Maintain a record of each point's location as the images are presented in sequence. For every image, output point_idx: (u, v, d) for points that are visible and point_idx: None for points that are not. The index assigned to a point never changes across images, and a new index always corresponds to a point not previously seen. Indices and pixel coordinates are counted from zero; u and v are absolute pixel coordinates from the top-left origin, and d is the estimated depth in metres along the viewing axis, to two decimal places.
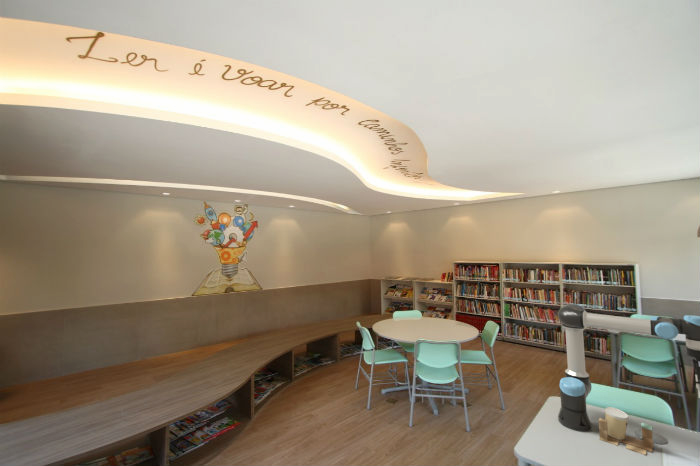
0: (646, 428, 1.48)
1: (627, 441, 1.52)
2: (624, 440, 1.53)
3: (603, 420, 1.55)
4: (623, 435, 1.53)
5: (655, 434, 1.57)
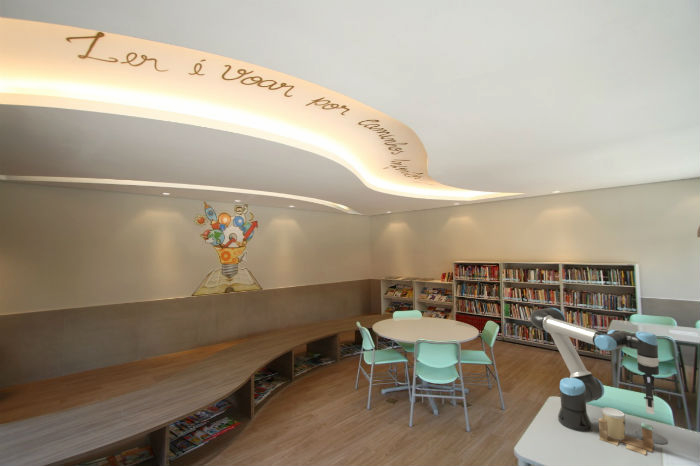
0: (646, 428, 1.48)
1: (627, 441, 1.52)
2: (624, 440, 1.53)
3: (603, 420, 1.55)
4: (622, 435, 1.54)
5: (655, 434, 1.57)
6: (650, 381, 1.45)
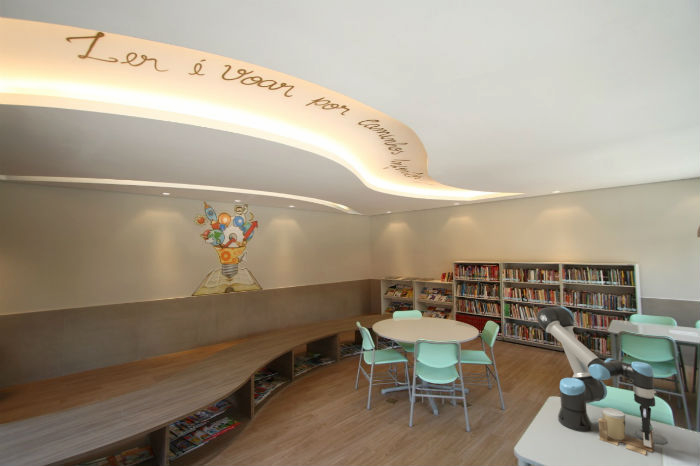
0: None
1: (627, 441, 1.52)
2: (624, 440, 1.53)
3: (603, 420, 1.55)
4: (622, 435, 1.54)
5: (655, 434, 1.57)
6: (646, 417, 1.45)
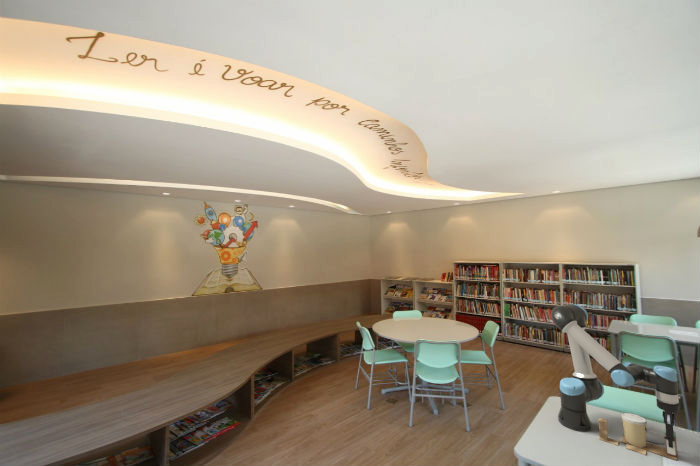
0: None
1: (649, 448, 1.46)
2: (646, 447, 1.47)
3: (603, 420, 1.55)
4: (644, 442, 1.48)
5: (655, 434, 1.57)
6: (670, 423, 1.39)
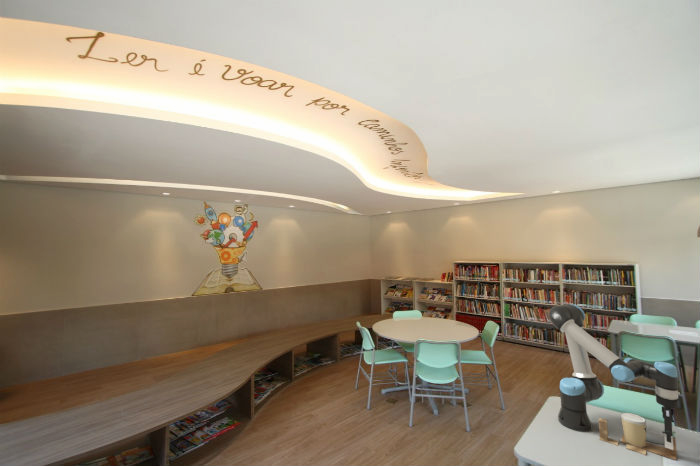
0: None
1: (649, 448, 1.46)
2: (646, 447, 1.47)
3: (603, 420, 1.55)
4: (644, 441, 1.48)
5: (655, 434, 1.57)
6: (669, 415, 1.39)
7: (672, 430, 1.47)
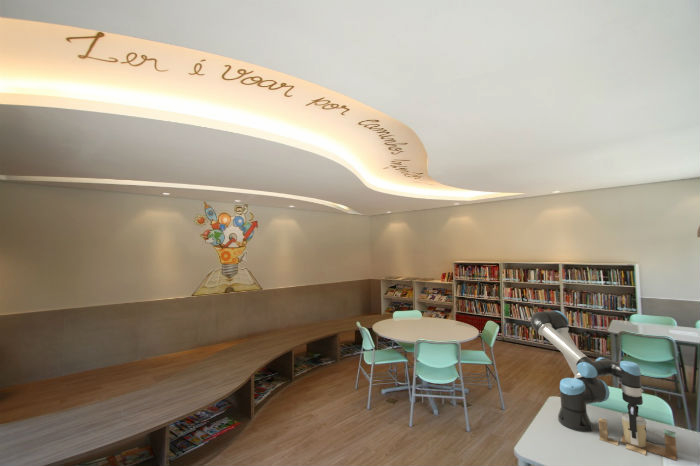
0: (669, 435, 1.42)
1: (649, 448, 1.46)
2: (646, 447, 1.47)
3: (603, 420, 1.55)
4: (644, 441, 1.48)
5: (655, 434, 1.57)
6: (633, 413, 1.48)
7: None
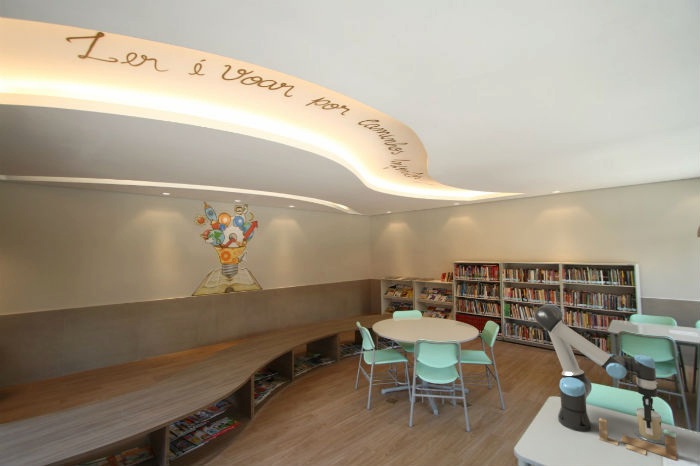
0: (669, 435, 1.42)
1: (649, 448, 1.46)
2: (646, 447, 1.47)
3: (603, 420, 1.55)
4: (659, 436, 1.53)
5: None
6: (648, 403, 1.53)
7: None
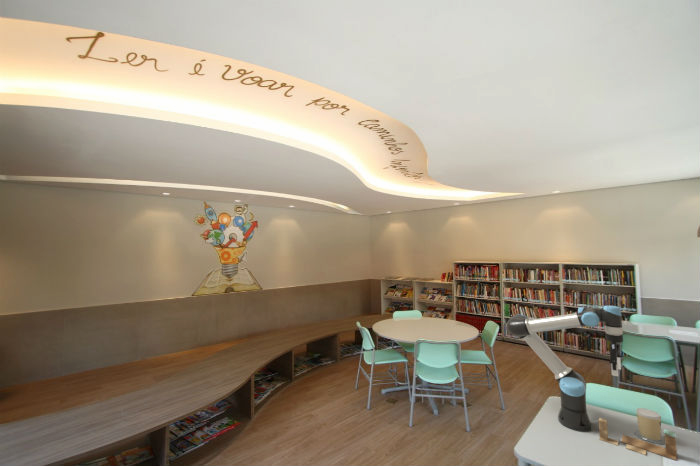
0: (669, 435, 1.42)
1: (649, 448, 1.46)
2: (646, 447, 1.47)
3: (603, 420, 1.55)
4: (659, 436, 1.53)
5: None
6: (614, 348, 1.65)
7: (620, 364, 1.73)
